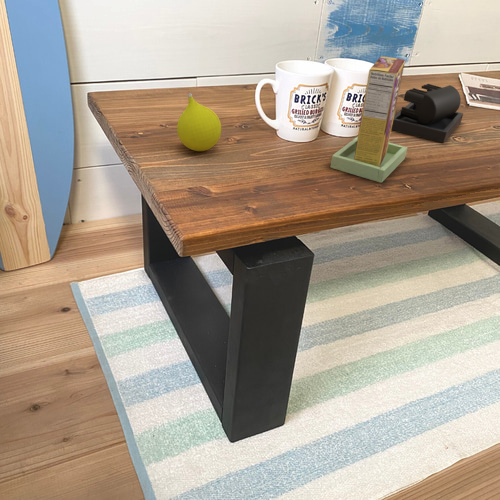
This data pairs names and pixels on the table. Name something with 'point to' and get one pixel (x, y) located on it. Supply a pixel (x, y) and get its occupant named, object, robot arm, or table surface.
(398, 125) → the charcoal tray
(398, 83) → the candy box
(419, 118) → the end cap
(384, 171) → the sage tray
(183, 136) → the ornament
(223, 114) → the table surface
